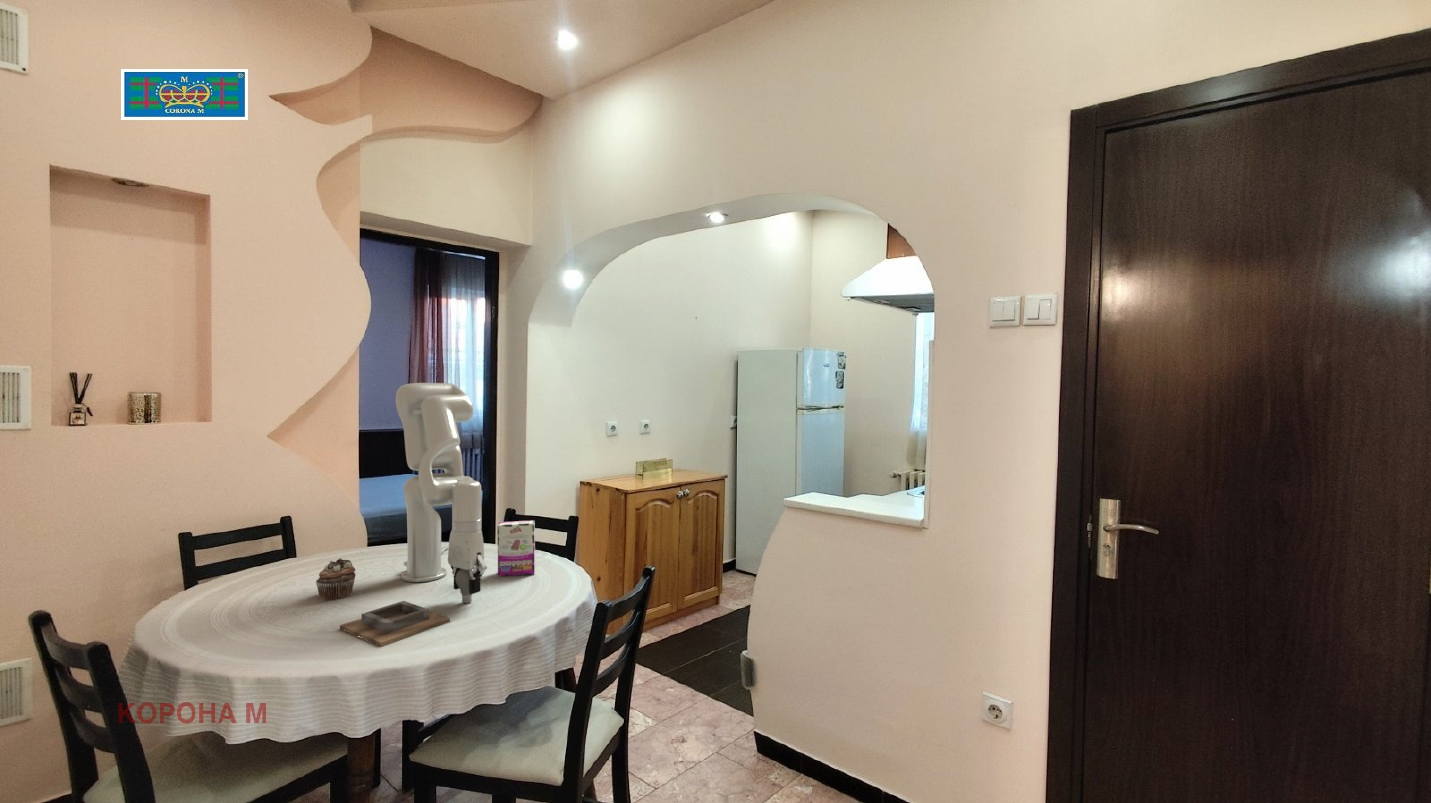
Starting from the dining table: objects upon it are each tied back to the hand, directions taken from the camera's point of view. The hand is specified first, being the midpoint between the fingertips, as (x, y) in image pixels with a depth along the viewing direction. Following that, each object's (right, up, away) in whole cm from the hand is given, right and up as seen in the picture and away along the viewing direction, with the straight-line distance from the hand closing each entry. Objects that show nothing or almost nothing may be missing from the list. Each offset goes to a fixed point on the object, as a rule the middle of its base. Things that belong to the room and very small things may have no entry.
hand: (467, 589), depth 176 cm
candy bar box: (+6, -3, +26) cm, 27 cm away
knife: (-29, -2, +40) cm, 49 cm away
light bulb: (0, -4, 0) cm, 4 cm away
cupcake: (-39, -3, +4) cm, 39 cm away
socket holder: (-11, -4, -16) cm, 20 cm away
